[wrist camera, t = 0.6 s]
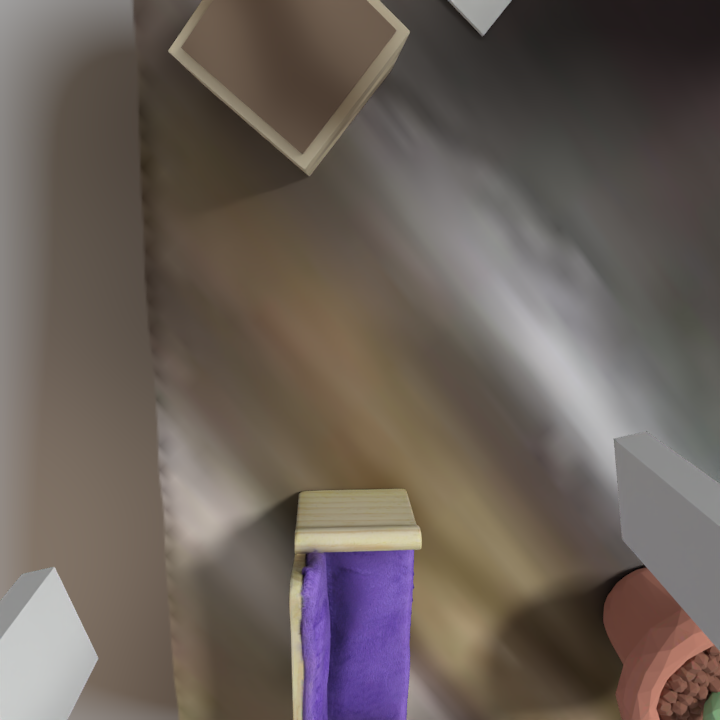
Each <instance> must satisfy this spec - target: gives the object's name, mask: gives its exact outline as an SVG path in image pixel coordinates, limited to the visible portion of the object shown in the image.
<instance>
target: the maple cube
mask: <svg viewBox="0 0 720 720" xmlns="http://www.w3.org/2000/svg"><path fill="white" fill-rule="evenodd" d="M409 33H410V31H409V30H408V29H407V28H406V27H405V26H404V25H403V24H402V23H401V22H400V21H399V20H398V19H397V18H396V17H395V16H394V15H393V14H392V13H391V12H390V11H389V10H388V9H387V8H386V7H385V6H384V5H383V4H382V3H381V2H380V0H202V1H201V3H200V4H199V6H198V7H197V9H196V10H195V12H194V13H193V15H192V16H191V18H190V19H189V21H188V22H187V24H186V25H185V27H184V28H183V30H182V31H181V33H180V34H179V36H178V37H177V38H176V40H175V41H174V43H173V44H172V46H171V47H170V49H169V50H168V52H169V53H170V54H171V55H172V56H174V57H175V58H176V59H177V60H178V61H179V62H180V63H181V64H182V65H183V66H184V67H185V68H186V69H187V70H188V71H189V72H190V73H192V74H193V75H194V76H195V77H196V78H197V79H198V80H199V81H200V82H201V83H202V84H203V85H204V86H205V87H206V88H208V89H209V90H210V91H211V92H212V93H213V94H215V95H216V96H217V97H218V98H219V99H220V100H221V101H223V102H224V103H225V104H226V105H227V106H228V107H229V108H231V109H232V110H233V111H234V112H235V113H236V114H238V115H239V116H240V117H241V118H242V119H243V120H244V121H246V122H247V123H248V124H249V125H250V126H251V127H253V128H254V129H255V130H256V131H257V132H258V133H259V134H261V135H262V136H263V137H264V138H265V139H266V140H268V141H269V142H270V143H271V144H272V145H273V146H274V147H276V148H277V149H278V150H279V151H280V152H281V153H283V154H284V155H285V156H286V157H287V158H288V159H289V160H291V161H292V162H293V163H294V164H295V165H296V166H298V167H299V168H300V169H301V170H302V171H303V172H304V173H306V174H307V175H308V176H309V177H310V175H311V174H312V173H313V171H314V170H315V169H316V168H317V166H318V165H319V164H320V162H321V161H322V160H323V158H324V157H325V156H326V155H327V153H328V152H329V151H330V149H331V148H332V147H333V146H334V144H335V143H336V142H337V140H338V139H339V138H340V136H341V135H342V134H343V133H344V131H345V130H346V129H347V127H348V126H349V125H350V123H351V122H352V121H353V120H354V118H355V117H356V116H357V114H358V113H359V112H360V110H361V109H362V108H363V107H364V105H365V104H366V103H367V101H368V100H369V99H370V98H371V96H372V95H373V94H374V92H375V91H376V90H377V88H378V87H379V86H380V85H381V83H382V82H383V81H384V79H385V78H386V77H387V75H388V74H389V73H390V72H391V70H392V68H393V66H394V64H395V62H396V60H397V58H398V56H399V54H400V52H401V50H402V48H403V46H404V44H405V41H406V39H407V37H408V35H409Z"/></svg>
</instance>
